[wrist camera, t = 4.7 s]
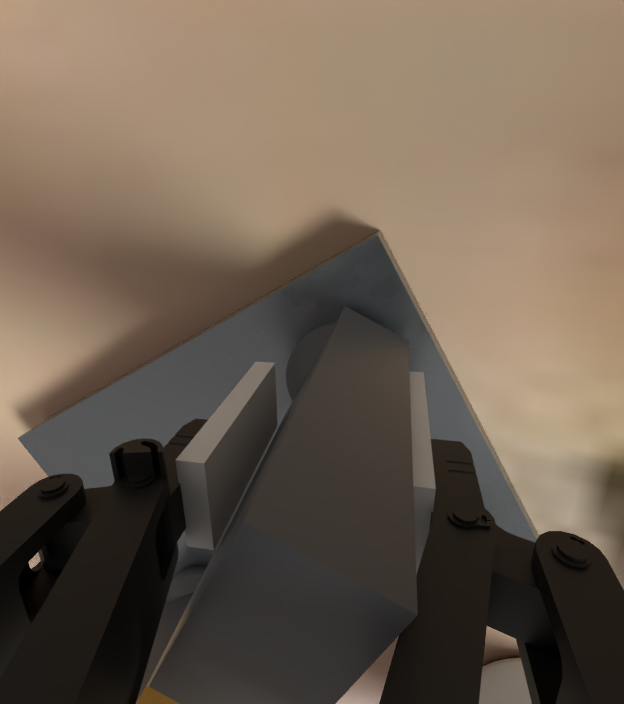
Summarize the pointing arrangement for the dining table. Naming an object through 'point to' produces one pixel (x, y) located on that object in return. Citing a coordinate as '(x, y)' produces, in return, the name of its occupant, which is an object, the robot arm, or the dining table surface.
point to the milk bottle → (504, 683)
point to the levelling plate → (276, 346)
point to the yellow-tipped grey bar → (310, 538)
